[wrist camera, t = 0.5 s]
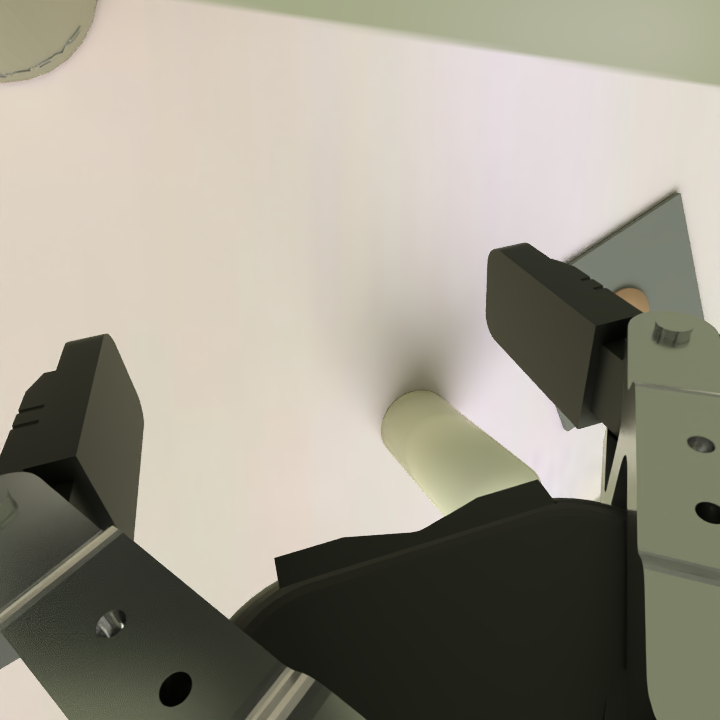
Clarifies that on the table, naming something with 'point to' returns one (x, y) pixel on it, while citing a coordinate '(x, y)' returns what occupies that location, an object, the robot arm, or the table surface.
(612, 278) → the grey mat
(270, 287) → the table surface
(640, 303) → the coaster
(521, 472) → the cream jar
